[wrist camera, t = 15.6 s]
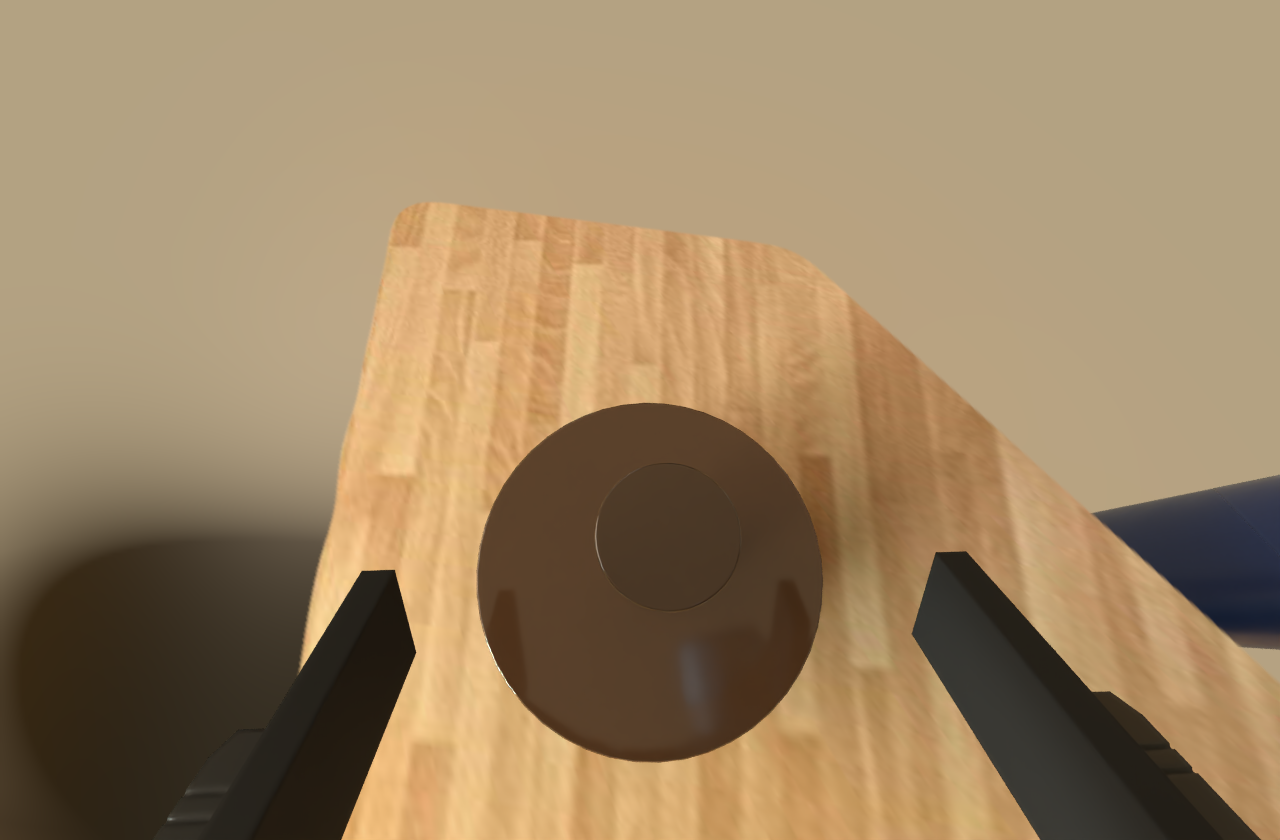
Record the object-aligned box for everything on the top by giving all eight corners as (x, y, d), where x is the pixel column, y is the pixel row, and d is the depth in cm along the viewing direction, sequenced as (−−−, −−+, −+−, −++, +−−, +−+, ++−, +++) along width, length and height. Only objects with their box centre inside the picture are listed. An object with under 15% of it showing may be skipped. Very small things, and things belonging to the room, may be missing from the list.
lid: (879, 620, 20) (1088, 631, 11) (592, 836, 18) (556, 1076, 9) (693, 361, 24) (735, 206, 15) (428, 514, 21) (279, 443, 12)
